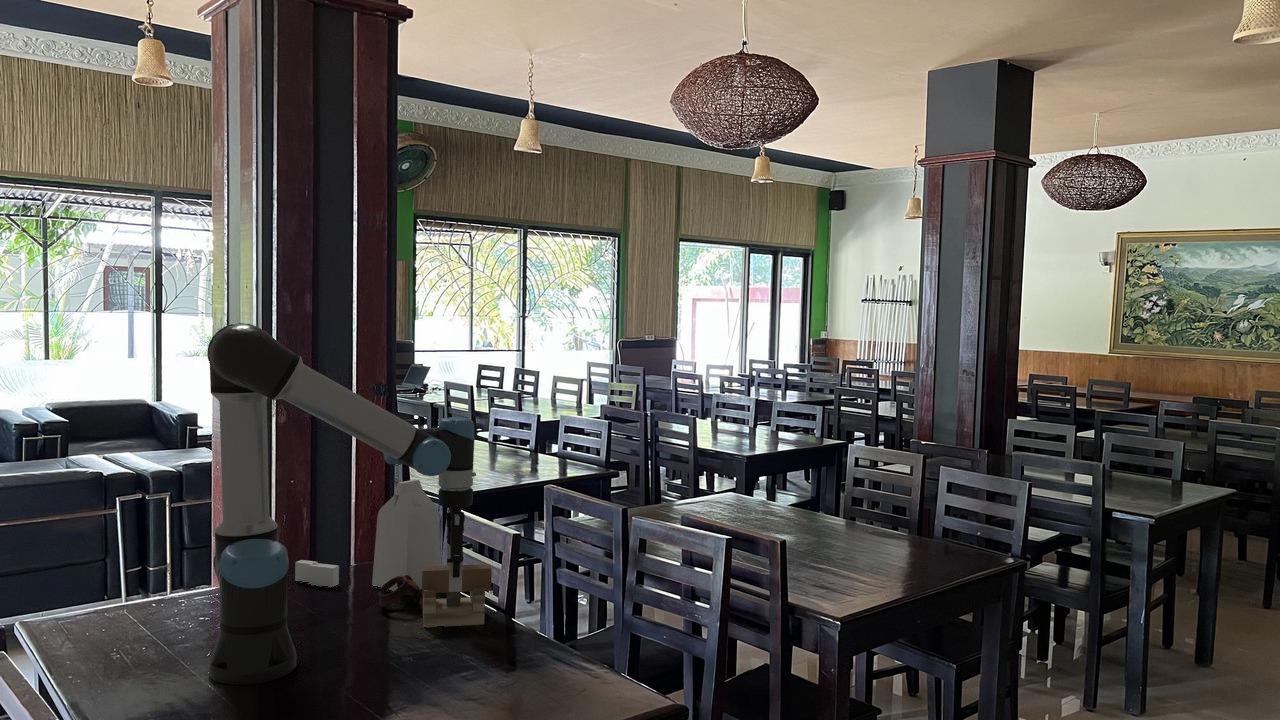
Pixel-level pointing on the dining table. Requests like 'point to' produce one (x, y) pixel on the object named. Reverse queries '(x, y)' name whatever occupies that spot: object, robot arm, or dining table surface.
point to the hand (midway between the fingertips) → (453, 582)
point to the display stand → (453, 609)
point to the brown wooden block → (471, 578)
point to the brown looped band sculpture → (400, 591)
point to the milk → (406, 535)
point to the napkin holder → (317, 573)
